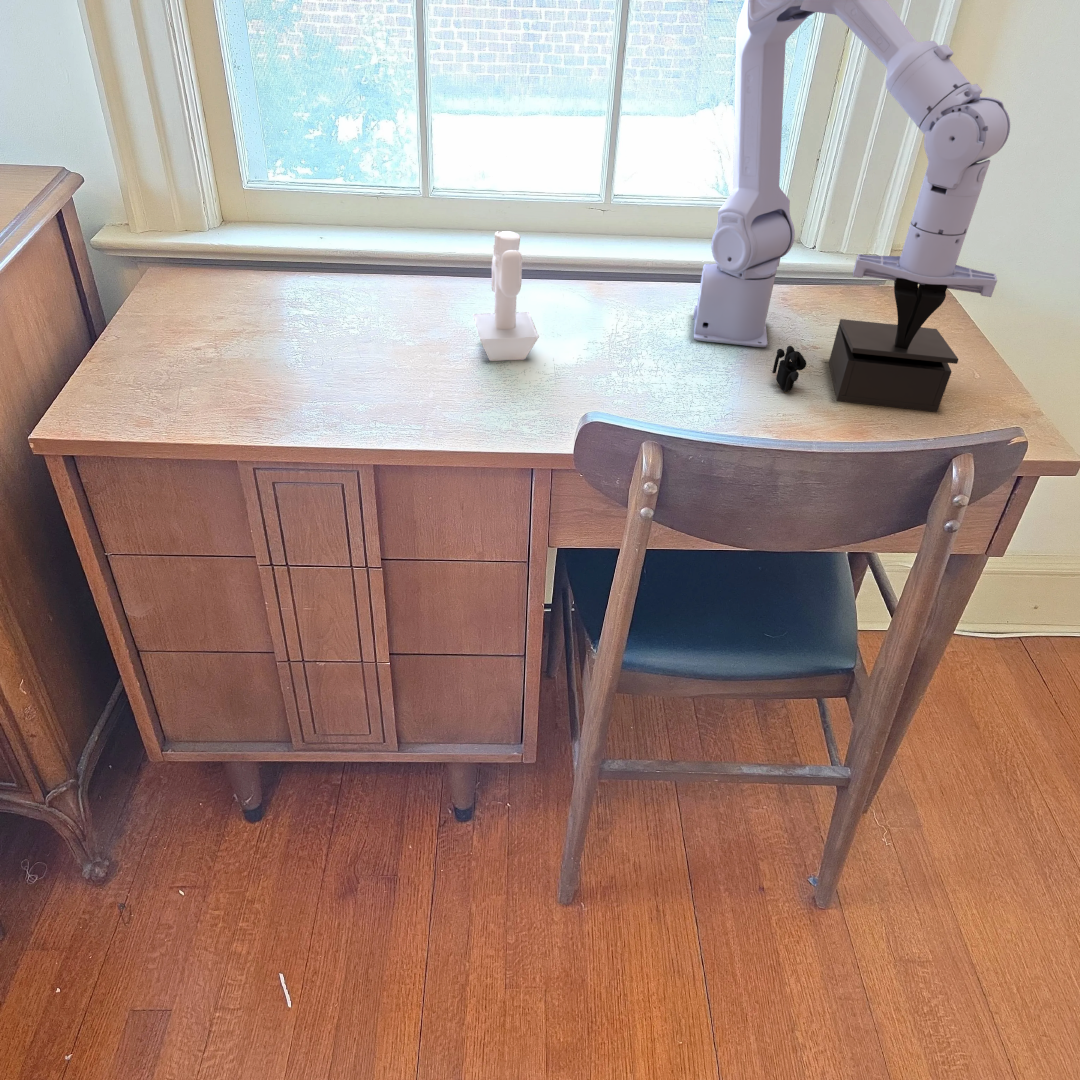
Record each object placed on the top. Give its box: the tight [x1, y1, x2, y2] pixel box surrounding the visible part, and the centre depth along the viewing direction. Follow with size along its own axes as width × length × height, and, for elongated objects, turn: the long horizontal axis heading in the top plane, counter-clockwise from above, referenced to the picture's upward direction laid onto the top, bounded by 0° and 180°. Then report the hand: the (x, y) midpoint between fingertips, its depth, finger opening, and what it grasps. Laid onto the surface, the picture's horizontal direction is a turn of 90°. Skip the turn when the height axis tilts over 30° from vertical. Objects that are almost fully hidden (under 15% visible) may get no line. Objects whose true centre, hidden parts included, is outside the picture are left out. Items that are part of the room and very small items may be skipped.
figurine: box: [472, 230, 540, 362], centre depth 108 cm, size 7×9×15 cm
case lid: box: [838, 318, 959, 365], centre depth 105 cm, size 11×12×1 cm
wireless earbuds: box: [771, 345, 807, 394], centre depth 107 cm, size 7×2×5 cm, turn 5°
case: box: [828, 323, 953, 413], centre depth 108 cm, size 10×12×5 cm
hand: (901, 344), depth 103 cm, fingers closed
